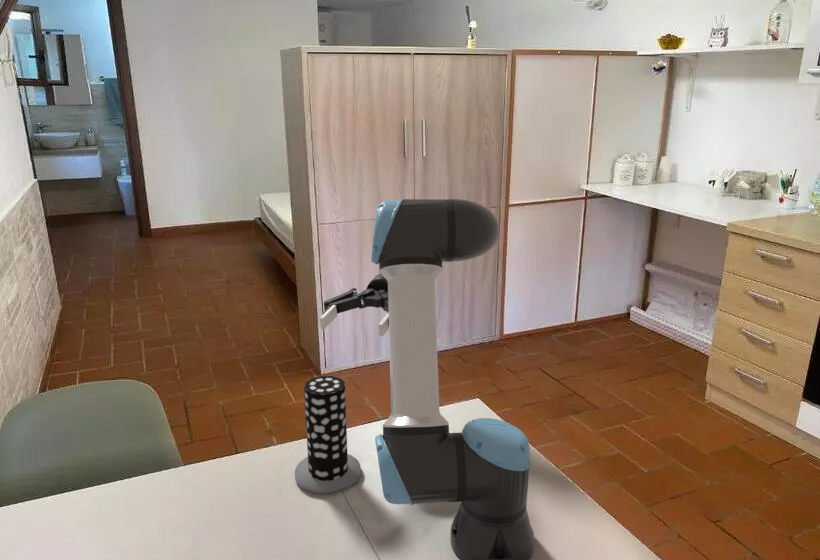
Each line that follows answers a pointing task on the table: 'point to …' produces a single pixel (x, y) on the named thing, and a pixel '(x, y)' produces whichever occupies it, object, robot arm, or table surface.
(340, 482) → the dish
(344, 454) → the white-spotted black cylinder
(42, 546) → the table surface
